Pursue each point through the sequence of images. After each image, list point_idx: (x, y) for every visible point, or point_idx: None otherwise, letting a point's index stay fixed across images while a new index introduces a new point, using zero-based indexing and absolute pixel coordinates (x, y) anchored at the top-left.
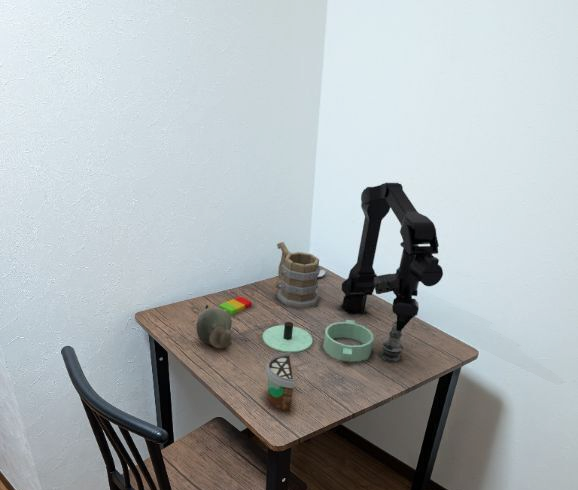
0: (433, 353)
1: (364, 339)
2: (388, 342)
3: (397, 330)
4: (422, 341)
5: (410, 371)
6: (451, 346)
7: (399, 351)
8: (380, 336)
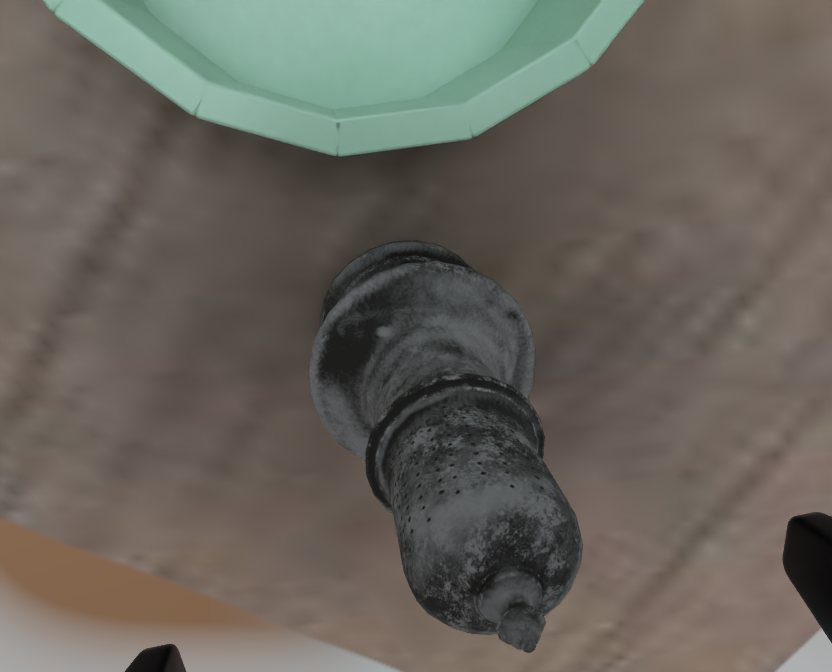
0: (579, 593)
1: (537, 24)
2: (398, 344)
3: (147, 661)
4: (728, 507)
5: (247, 502)
6: (704, 665)
7: (347, 447)
8: (738, 183)
